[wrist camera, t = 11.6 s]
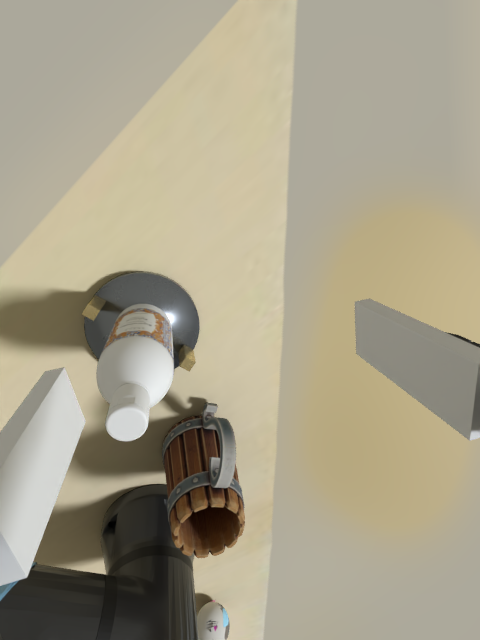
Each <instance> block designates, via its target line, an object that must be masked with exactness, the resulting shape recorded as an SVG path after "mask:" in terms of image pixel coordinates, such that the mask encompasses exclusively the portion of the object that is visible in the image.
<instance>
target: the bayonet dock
mask: <svg viewBox="0 0 480 640" xmlns="http://www.w3.org/2000/svg"><path fill="white" fill-rule="evenodd" d="M136 304H150V305H154V306H156V307H158V308H160V309H161V310H162V311H163V312H164V313H165V314H166V315H167V316H168V318H169V320H170V322H171V326H172V338H173V357H174V369H175V368H177V367H178V366H180V367H182V368H184V369H186V370H187V371H190V370H191V368H192V367H193V365H194V364H195V363H196V362H195V357H194V352H193V349H194V347H195V345H196V343H197V339H198V335H199V317H198V313H197V310H196V307H195V304H194V302H193V300H192V299H191V297H190V295H189V294H188V293H187V292H186V291H185V289H183V288H182V287H181V286H180V285H179V284H178V283H176V282H175V281H173V280H172V279H170V278H168V277H165V276H163V275H160V274H156V273H152V272H131V273H127V274H123V275H120V276H118V277H115V278H114V279H112V280H110V281H109V282H107V283H106V284H105V285H103V286H102V287H101V288H100V289H99V290H98V292H97V293H96V294H95V295H94V297H93V298H92V300H91V301H90V302H89V303H88V305H87V306H86V308H85V309H84V311H83V313H82V315H84V316H85V323H84V328H85V335H86V338H87V342H88V344H89V346H90V348H91V350H92V351H93V353H94V354H95V355H96V357H97V358H98V359H99V358H100V355H101V353H102V351H103V349H104V346H105V344H106V342H107V340H108V337H109V335H110V333H111V330H112V328H113V326H114V324H115V322H116V320H117V318H118V316H119V315H120V314H121V312H122V311H124V310H125V309H126V308H128V307H130V306H132V305H136Z"/></svg>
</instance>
